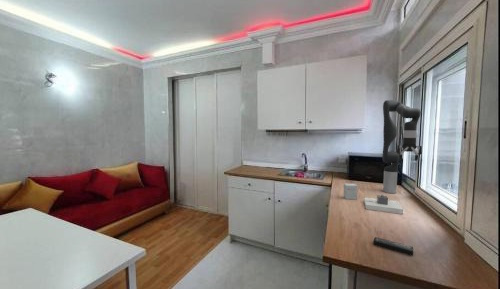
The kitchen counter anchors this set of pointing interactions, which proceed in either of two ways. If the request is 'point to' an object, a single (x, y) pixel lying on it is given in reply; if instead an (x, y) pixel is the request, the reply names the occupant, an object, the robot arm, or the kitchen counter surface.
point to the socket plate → (383, 206)
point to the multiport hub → (393, 246)
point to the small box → (350, 191)
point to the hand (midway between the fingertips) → (408, 160)
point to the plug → (382, 199)
